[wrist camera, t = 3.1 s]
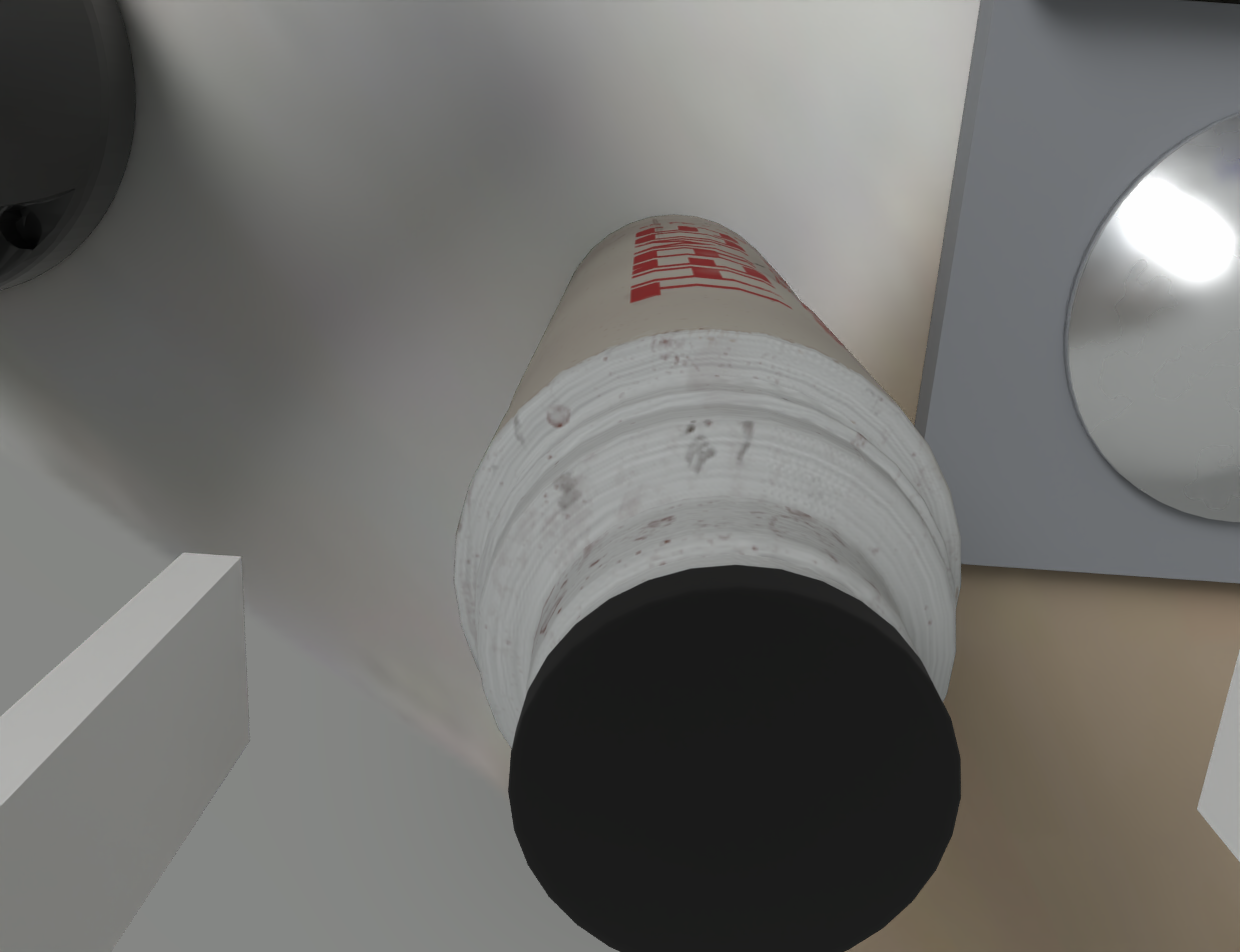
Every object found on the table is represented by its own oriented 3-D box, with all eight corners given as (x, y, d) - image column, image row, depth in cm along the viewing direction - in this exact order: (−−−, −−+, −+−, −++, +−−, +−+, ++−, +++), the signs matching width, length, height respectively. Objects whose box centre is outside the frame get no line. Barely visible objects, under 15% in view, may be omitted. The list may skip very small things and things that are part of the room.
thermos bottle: (610, 177, 36) (514, 309, 10) (823, 268, 37) (1273, 619, 11) (527, 389, 39) (267, 960, 12) (729, 470, 40) (902, 1176, 13)
